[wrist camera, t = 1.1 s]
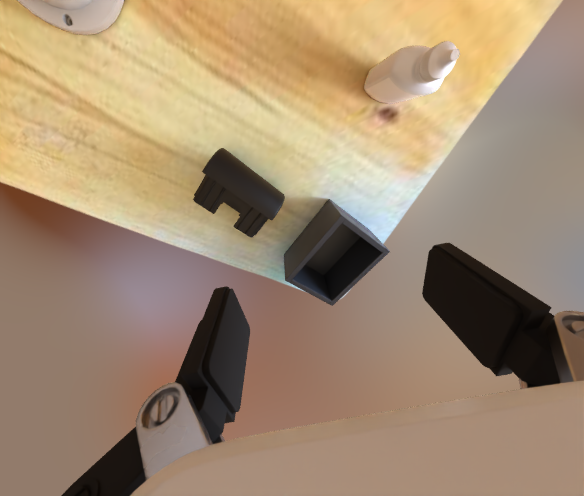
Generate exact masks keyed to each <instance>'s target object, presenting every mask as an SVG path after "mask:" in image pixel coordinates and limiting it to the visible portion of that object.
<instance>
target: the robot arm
mask: <svg viewBox="0 0 584 496" xmlns="http://www.w3.org/2000/svg"><path fill="white" fill-rule="evenodd" d="M17 1H18V2H19V3H20V4H22V5H23V6H24V7H25V8H27V9H28V10H29V11H30V12H32V13H33V14H34V15H36V16H37V17H39V18H41V19H42V20H44V21H45V22H47V23H49V24H51V25H53V26H55V27H57V28H59V29H61V30H64V31H67V32H71V33H74V34H81V35H90V34H97V33H99V32H101V31H103V30H105V29H107V28H108V27H109V26H110V25H112V24H113V23H114V22H115V20H116V19H117V17H118V15H119V13H120V12H121V9H122V6H123V3H124V0H17ZM422 294H423V297H424V299H425V301H426V302H427V303H428V304H429V305H430V306H431V307H432V308H433V310H434V311H435V312H436V313H437V314H438V315H439V316H440V318H441V319H442V320H443V321H444V322H445V323H446V324H447V325H448V327H449V328H450V329H451V330H452V331H453V332H454V333H455V334H456V336H457V337H458V338H459V339H460V340H461V341H462V342H463V343H464V345H465V346H466V347H467V348H468V349H469V350H470V351H471V352H472V353H473V355H474V356H475V357H476V358H477V359H478V360H479V361H480V363H481V364H482V365H484V366H485V367H487V368H490V369H491V370H492V372H493V373H494V374H495V375H496V376H501V375H507V374H511V373H512V372H514V373H515V374H516V375H517V377H518V378H519V383H520V389H519V390H513V391H506V392H500V393H495V394H488V395H482V396H476V397H470V398H464V399H458V400H452V401H446V402H440V403H434V404H428V405H422V406H416V407H410V408H404V409H399V410H392V411H387V412H381V413H375V414H369V415H363V416H358V417H351V418H346V419H340V420H334V421H329V422H323V423H317V424H312V425H306V426H300V427H294V428H289V429H283V430H278V431H273V432H268V433H263V434H257V435H253V436H247V437H242V438H237V439H233V440H229V441H225V440H224V438H223V436H222V434H221V433H222V432H223V429H224V423H229V422H234V420H235V413H236V412H238V411H239V409H240V405H241V397H242V389H243V382H244V374H245V366H246V359H247V352H248V344H249V336H250V327H249V324H248V322H247V320H246V318H245V315H244V313H243V311H242V309H241V306H240V304H239V302H238V299H237V297H236V295H235V293H234V291H233V289H229V287H221V288H216V289H215V290H214V292H213V294H212V297H211V299H210V302H209V304H208V307H207V309H206V312H205V315H204V317H203V319H202V320H201V321H200V323H199V324H198V327H197V330H196V332H195V334H194V337H193V339H192V342H191V344H190V347H189V349H188V351H187V354H186V356H185V359H184V361H183V364H182V366H181V369H180V371H179V374H178V376H177V379H176V381H175V382H174V383H168V384H166V385H163V386H162V387H160V388H159V389H157V390H156V391H155V392H154V393H152V394H151V395H150V396H149V397H148V399H147V400H146V401H145V402H144V404H143V405H142V407H141V409H140V411H139V413H138V416H137V419H136V427H135V428H134V429H133V430H131V431H130V432H129V433H128V434H127V435H126V436H125V437H124V438H123V439H122V440H120V441H119V442H118V443H117V444H116V445H115V446H114V447H113V448H112V449H111V450H110V451H108V452H107V453H106V454H105V455H104V456H103V457H102V458H101V459H100V460H99V461H97V462H96V463H95V464H94V465H93V466H92V467H91V468H90V469H89V470H88V471H87V472H85V473H84V474H83V475H82V476H81V477H80V478H79V479H78V480H77V481H76V482H74V483H73V484H72V485H71V486H70V487H69V488H68V490H66V492H65V493H64V494H63V495H62V496H584V313H583V312H577V311H563V312H559V313H557V314H556V315H555V316H554V315H552V314H551V313H549V311H550V309H551V307H550V306H548V305H547V304H545V303H543V302H542V301H540V300H539V299H537V298H536V297H534V296H533V295H531V294H529V293H528V292H526V291H525V290H523V289H522V288H520V287H518V286H517V285H515V284H514V283H512V282H511V281H509V280H507V279H506V278H504V277H503V276H501V275H500V274H498V273H496V272H495V271H493V270H492V269H490V268H488V267H487V266H485V265H483V264H482V263H481V262H479V261H477V260H476V259H474V258H473V257H471V256H470V255H468V254H466V253H465V252H463V251H462V250H460V249H458V248H457V247H455V246H454V245H452V244H450V243H444V244H439V245H434V246H433V248H432V249H431V250H430V251H429V255H428V261H427V267H426V273H425V279H424V286H423V293H422Z"/></svg>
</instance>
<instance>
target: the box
mask: <svg viewBox="0 0 584 496" xmlns="http://www.w3.org/2000/svg"><path fill="white" fill-rule="evenodd" d="M389 252H390V251H389V250H388V249H387V248H386V247H385V246H384V245H383V244H382V243H381V242H380V240H379V239H378V238H377V237H376V236H375V235H374V234H373V233H372V232H371V231H370V230H369V229H368V228H366V227H365V226H364V225H362V224H361V223H360V222H358V221H357V220H356V219H354V218H353V217H352V216H351V215H349V214H348V213H347V212H345V211H344V210H343V209H341V208H340V207H339V206H337V205H336V204H335V203H334V202H332V201H331V200H330V199H329V200H328V201H327V202H326V203H325V205H324V206H323V207H322V208H321V209H320V211H319V212H318V213H317V214H316V216H315V217H314V218H313V219H312V221H311V222H310V223H309V224H308V226H307V227H306V228H305V229H304V231H303V232H302V233H301V234H300V235H299V237H298V238H297V239H296V240H295V242H294V243H293V244H292V245H291V247H290V248H289V249H288V250H287V252H286V253H285V254H284V265H285V281H287V282H290V283H291V284H293V285H295V286H297V287H298V288H300V289H302V290H304V291H306V292H308V293H309V294H311V295H313V296H315V297H317V298H319V299H321V300H322V301H324V302H326V303H328V304H330V305H334V304H335V303H336V302H337V301H338V300H339V299H340V298H341V297H342V296H343V295H344V294H346V293H347V292H348V291H349V290H350V289H351V288H352V287H353V286H354V285H355V284H356V283H357V282H358V281H359V280H360V279H361V278H362V277H363V276H365V275H366V274H367V273H368V272H369V271H370V270H371V269H372V268H373V267H374V266H375V265H376V264H377V263H378V262H379V261H380V260H382V259H383V258H384V257H385V256H386V255H387V254H388V253H389Z"/></svg>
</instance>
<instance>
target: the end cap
mask: <svg viewBox="0 0 584 496" xmlns="http://www.w3.org/2000/svg"><path fill="white" fill-rule="evenodd" d="M202 172H203V173H204V174H206V176H205V177H204V179H203V181H202V182H201V184H200V186H199V188H198V189H197V191H196V193H195V194H194V196H195V197H194V199H193V200H194V201H195V202H196V203H197V204H199V205H200V206H202V207H204V208H205V209H207V210H208V211H210V212H211V213H213V214H214V213H215V212H216V210H217V209H218V207H219V206H220V204H222V203H223V202H224V203H226V204H227V205H229V206H230V207H232V208H233V209H235V210H236V211H238V212H239V213H240V214H239V216H240V218H239V219H238V220H237V222H236V223H235V225H234V226H233V227H235V228H236V229H238V230H240V231H241V232H243V233H244V234H246V235H247V236H249V237H253V236H254V235H256V234H257V232H258V231H259V230H260V229H261V227H262V226H263V225H264V223H265V222H266V221H267V220H268V218H269V219H270V220H273V219H274V217H275V216H276V214H277V213H278V211H279V210H280V208H281V206H282V204H283V202H284V199H285V196H284V194H282V193H281V192H280V191H278V190H277V189H276V188H275V187H273V186H272V185H271V184H269V183H268V182H267V181H266V180H264V179H263V178H262V177H260V176H259V175H258V174H256V173H255V172H254V171H253V170H251V169H250V168H249V167H247V166H246V165H245V164H244V163H242V162H241V161H240V160H238V159H237V158H236V157H235V156H233V155H232V154H231V153H229V152H228V151H227V150H225V149H224V148H221V149H219V150H218V151H217V152H216V153H215V154H214V155H213V156H212V158H211V159H210V160H209V162H208V163H207V165H206V166H205V168H204V169H203V171H202Z"/></svg>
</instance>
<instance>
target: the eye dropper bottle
mask: <svg viewBox="0 0 584 496" xmlns="http://www.w3.org/2000/svg"><path fill="white" fill-rule="evenodd" d="M459 55H460V51H459V49H456V47H455V45H454V44H453V43H452V42H449V41H444V42H441V43H439V44H438V45H436V46H434V47H432V48H429V47H426V46H408V47H404V48H401V49H399V50H398V51H396V52H395V53H393V54H391V55H390V56H389V57H387V58H386V59H384V60H383V61H381V62H380V63H379V64H377V65H376V66H374V67H373V68H371V69H370V71H369V73H368V76H367V79H366V82H365V85H364V89H365V91H366V92H367V94H368V95H369V96H371V97H372V98H373V99H375V100H377V101H379V102H382V103H399V102H403V101H406V100H410V99H414V98H418V97H421V96H425V95H428V94H431V93H434V92H435V91H437V90H438V88H439V87H440V85H441V84H442V82H443V80H444V77H445V76H446V75H447V74H449V72H450V71H451V70H452V69H453V67H454V65H455V62H456V59H458V57H459Z"/></svg>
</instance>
